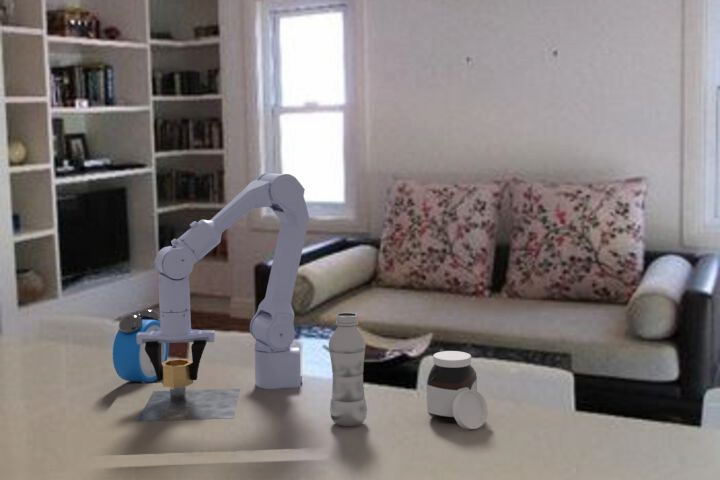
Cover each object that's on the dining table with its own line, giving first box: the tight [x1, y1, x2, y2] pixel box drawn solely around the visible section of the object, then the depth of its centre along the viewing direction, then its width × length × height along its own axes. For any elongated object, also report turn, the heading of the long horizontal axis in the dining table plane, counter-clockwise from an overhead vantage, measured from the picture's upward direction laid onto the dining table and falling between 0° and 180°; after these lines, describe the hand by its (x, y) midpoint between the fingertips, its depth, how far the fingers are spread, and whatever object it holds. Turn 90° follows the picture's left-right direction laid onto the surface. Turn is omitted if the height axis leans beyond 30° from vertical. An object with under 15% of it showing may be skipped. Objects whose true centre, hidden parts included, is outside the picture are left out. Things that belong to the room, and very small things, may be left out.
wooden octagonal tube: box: [161, 358, 194, 388], centre depth 166 cm, size 6×6×4 cm
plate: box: [136, 386, 241, 422], centre depth 163 cm, size 17×18×6 cm
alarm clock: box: [112, 307, 170, 384], centre depth 183 cm, size 13×6×15 cm, turn 162°
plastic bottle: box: [328, 312, 368, 427], centre depth 154 cm, size 6×7×20 cm
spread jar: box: [426, 350, 489, 430], centre depth 156 cm, size 12×11×12 cm
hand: (177, 379), depth 166 cm, fingers closed on wooden octagonal tube, 6 cm apart
